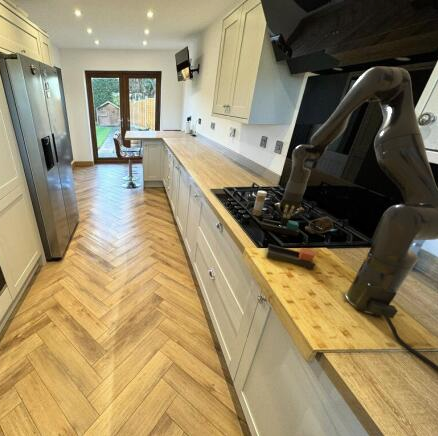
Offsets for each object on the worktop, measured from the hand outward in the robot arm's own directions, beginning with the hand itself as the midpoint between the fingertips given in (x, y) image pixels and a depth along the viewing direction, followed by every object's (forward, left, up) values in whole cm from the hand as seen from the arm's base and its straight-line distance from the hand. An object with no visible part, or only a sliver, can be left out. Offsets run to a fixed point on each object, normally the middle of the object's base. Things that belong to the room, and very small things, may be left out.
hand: (283, 224), depth 114 cm
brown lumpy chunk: (+9, -15, -4) cm, 18 cm away
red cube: (-26, -8, -2) cm, 27 cm away
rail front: (-26, -3, -4) cm, 26 cm away
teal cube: (0, -4, -2) cm, 4 cm away
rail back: (0, +1, -4) cm, 4 cm away
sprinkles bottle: (+14, +13, -4) cm, 19 cm away
